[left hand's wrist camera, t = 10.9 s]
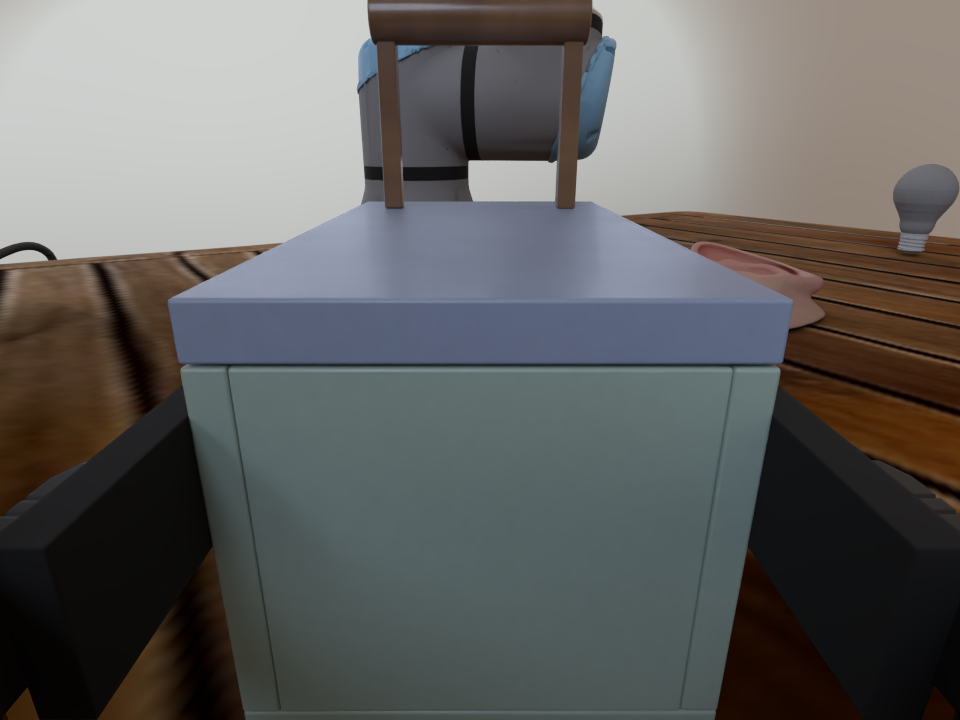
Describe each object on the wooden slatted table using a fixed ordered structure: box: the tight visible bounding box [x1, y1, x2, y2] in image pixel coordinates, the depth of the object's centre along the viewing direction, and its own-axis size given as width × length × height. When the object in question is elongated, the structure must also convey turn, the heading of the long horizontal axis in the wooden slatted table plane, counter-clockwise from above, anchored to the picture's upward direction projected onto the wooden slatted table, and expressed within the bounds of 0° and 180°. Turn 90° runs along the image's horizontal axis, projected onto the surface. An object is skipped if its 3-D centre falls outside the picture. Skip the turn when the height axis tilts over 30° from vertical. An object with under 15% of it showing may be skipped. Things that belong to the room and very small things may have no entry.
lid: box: [168, 0, 793, 364], centre depth 17 cm, size 18×10×9 cm, turn 0°
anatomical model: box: [691, 242, 825, 329], centre depth 46 cm, size 13×4×12 cm
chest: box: [180, 364, 780, 720], centre depth 19 cm, size 17×10×9 cm, turn 0°
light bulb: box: [893, 164, 959, 254], centre depth 68 cm, size 6×6×10 cm
